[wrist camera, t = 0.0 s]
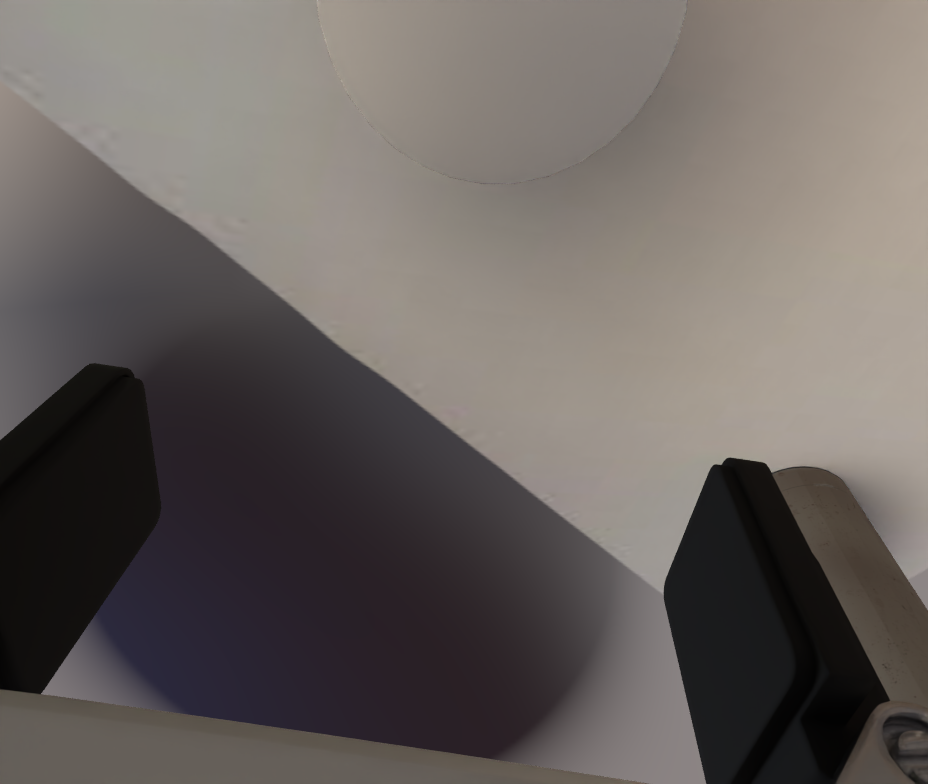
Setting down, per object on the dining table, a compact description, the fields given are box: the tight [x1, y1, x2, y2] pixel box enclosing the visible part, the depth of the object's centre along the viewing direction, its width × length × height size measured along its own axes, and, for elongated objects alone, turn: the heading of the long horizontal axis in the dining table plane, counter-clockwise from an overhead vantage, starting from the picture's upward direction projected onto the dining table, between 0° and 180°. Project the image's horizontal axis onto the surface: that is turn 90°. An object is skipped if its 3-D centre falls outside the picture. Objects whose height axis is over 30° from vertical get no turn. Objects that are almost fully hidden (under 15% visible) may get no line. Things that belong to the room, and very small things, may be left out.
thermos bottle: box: [772, 467, 928, 708], centre depth 38 cm, size 8×8×28 cm
